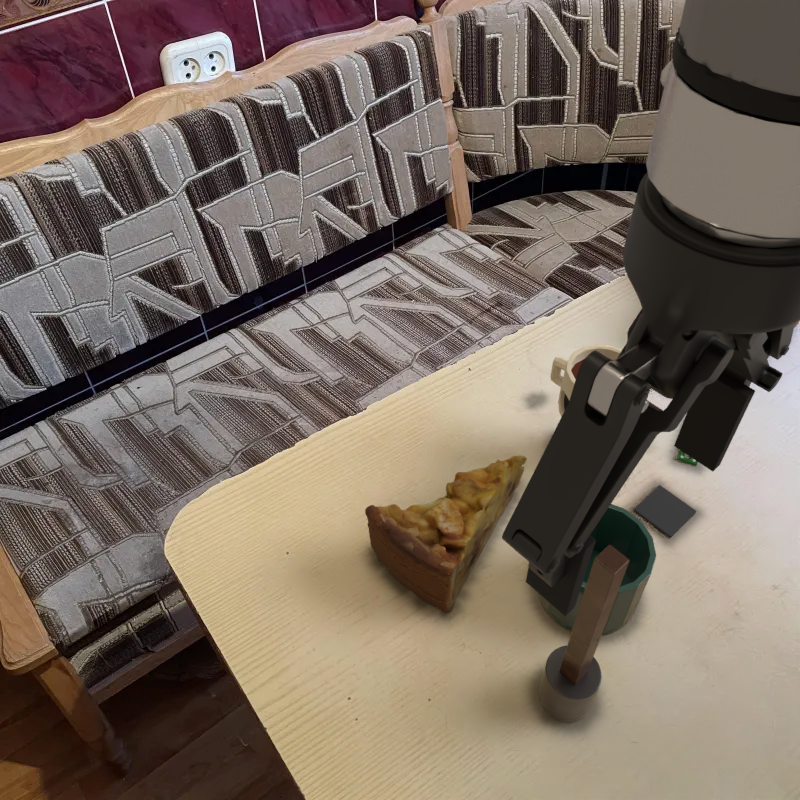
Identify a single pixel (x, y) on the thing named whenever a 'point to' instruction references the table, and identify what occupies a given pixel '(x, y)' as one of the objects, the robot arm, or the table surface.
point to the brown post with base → (583, 644)
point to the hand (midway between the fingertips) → (628, 520)
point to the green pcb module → (686, 458)
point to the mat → (664, 511)
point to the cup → (640, 550)
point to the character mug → (575, 370)
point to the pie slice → (443, 531)
